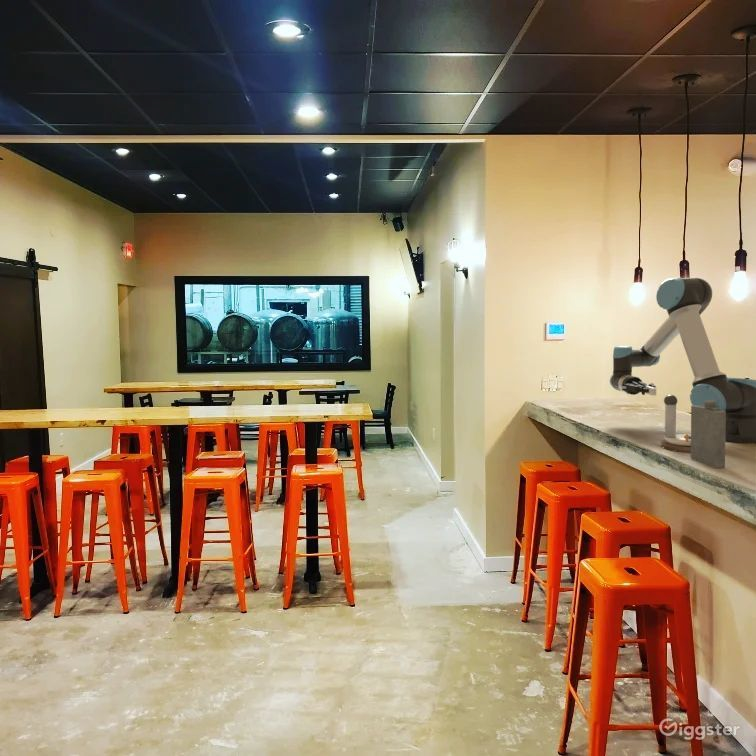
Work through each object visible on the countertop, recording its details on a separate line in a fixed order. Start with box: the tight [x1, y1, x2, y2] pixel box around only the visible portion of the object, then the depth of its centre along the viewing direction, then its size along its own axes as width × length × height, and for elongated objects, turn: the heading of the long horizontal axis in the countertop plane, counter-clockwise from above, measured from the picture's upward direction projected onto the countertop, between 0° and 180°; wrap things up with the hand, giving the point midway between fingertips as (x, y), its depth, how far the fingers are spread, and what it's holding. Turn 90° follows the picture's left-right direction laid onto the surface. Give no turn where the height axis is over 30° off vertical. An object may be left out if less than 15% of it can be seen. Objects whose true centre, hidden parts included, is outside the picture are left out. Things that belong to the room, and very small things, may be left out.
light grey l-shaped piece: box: [663, 394, 691, 446], centre depth 223 cm, size 16×15×17 cm
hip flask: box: [690, 401, 726, 469], centre depth 199 cm, size 16×4×20 cm, turn 3°
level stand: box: [660, 439, 691, 453], centre depth 224 cm, size 18×18×5 cm
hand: (654, 391), depth 237 cm, fingers closed
